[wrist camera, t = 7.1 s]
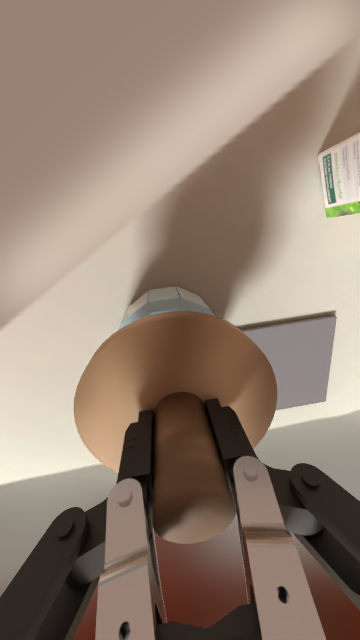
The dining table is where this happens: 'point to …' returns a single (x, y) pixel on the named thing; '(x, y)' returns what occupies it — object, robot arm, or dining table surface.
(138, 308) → the bowl
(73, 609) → the robot arm
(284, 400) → the mat
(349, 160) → the syrup box
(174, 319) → the lid
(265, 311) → the dining table surface
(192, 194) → the dining table surface
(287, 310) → the dining table surface
